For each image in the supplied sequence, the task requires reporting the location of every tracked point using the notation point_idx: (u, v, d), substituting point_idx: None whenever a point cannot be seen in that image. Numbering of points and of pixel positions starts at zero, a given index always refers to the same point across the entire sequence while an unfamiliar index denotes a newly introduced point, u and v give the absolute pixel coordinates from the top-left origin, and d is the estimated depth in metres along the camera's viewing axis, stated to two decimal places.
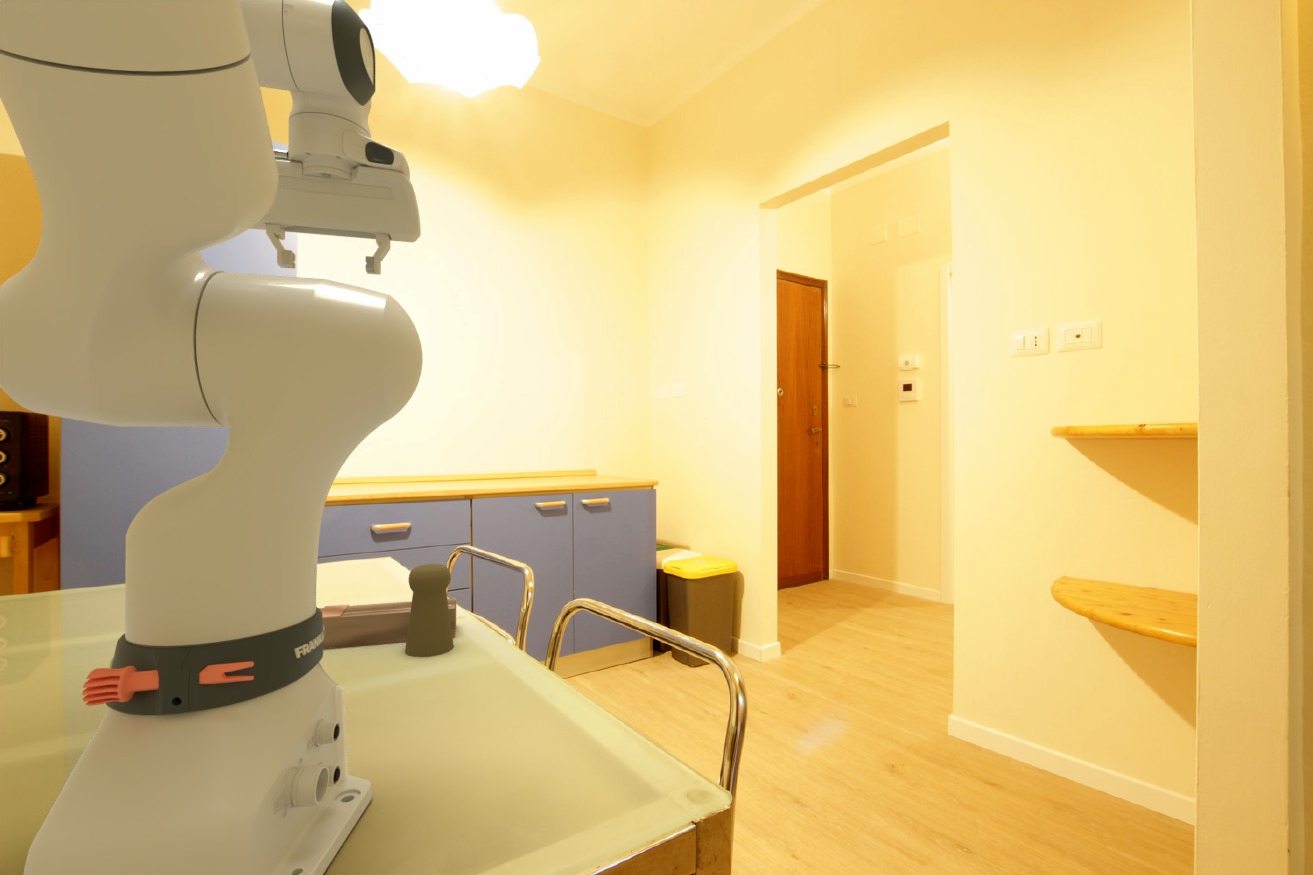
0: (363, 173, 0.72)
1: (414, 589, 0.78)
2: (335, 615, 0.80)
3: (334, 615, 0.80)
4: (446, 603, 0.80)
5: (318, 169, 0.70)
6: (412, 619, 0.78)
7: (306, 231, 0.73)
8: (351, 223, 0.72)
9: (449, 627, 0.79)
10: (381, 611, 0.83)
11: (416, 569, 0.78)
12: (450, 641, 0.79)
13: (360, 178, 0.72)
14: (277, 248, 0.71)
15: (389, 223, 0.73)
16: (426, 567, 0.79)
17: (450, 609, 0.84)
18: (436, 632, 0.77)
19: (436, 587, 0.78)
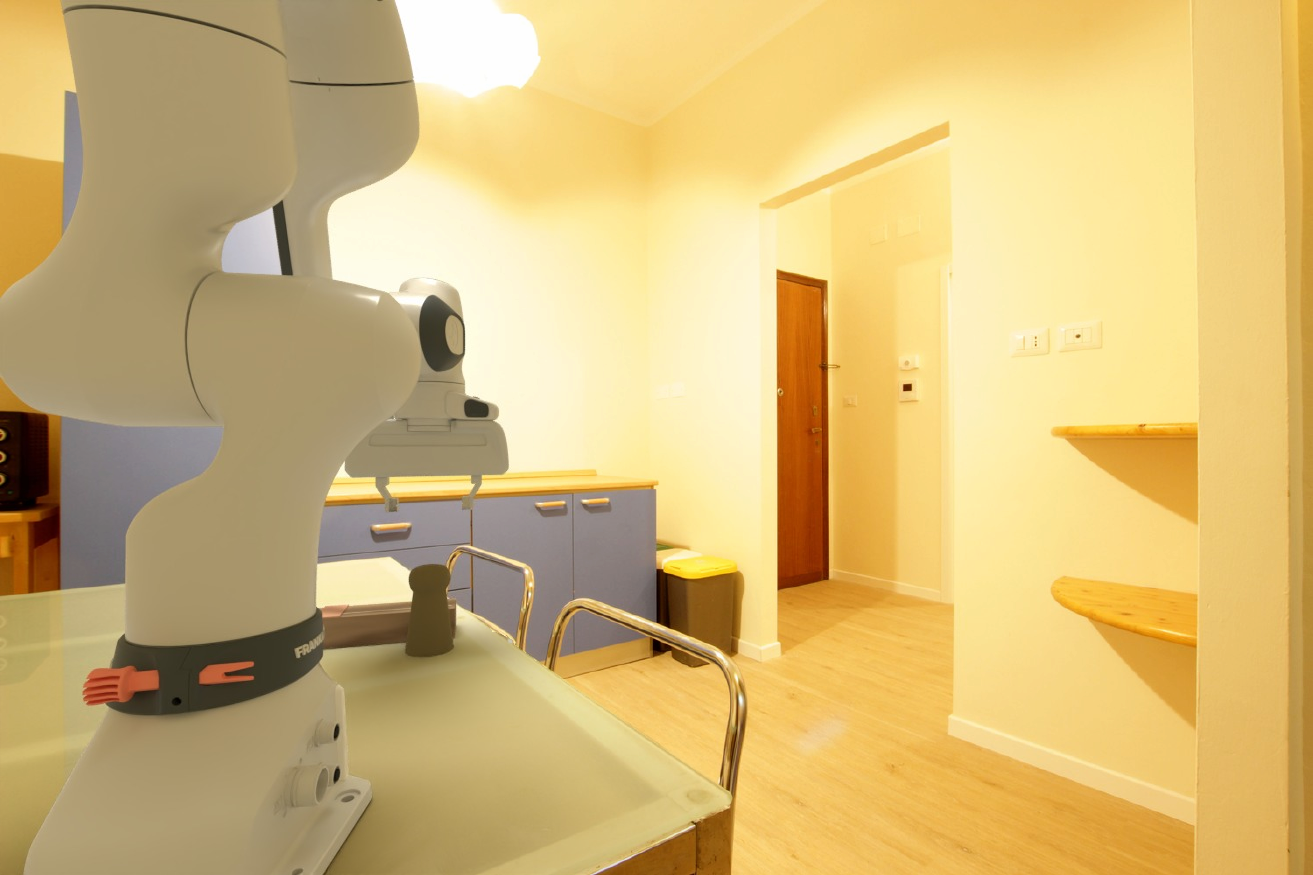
0: (461, 427, 0.78)
1: (414, 589, 0.78)
2: (335, 615, 0.80)
3: (334, 615, 0.80)
4: (446, 603, 0.80)
5: (423, 428, 0.77)
6: (412, 619, 0.78)
7: None
8: (450, 470, 0.79)
9: (449, 627, 0.79)
10: (381, 611, 0.83)
11: (416, 569, 0.78)
12: (450, 641, 0.79)
13: (458, 430, 0.79)
14: (385, 498, 0.78)
15: (483, 467, 0.80)
16: (426, 567, 0.79)
17: (450, 609, 0.84)
18: (436, 632, 0.77)
19: (436, 587, 0.78)
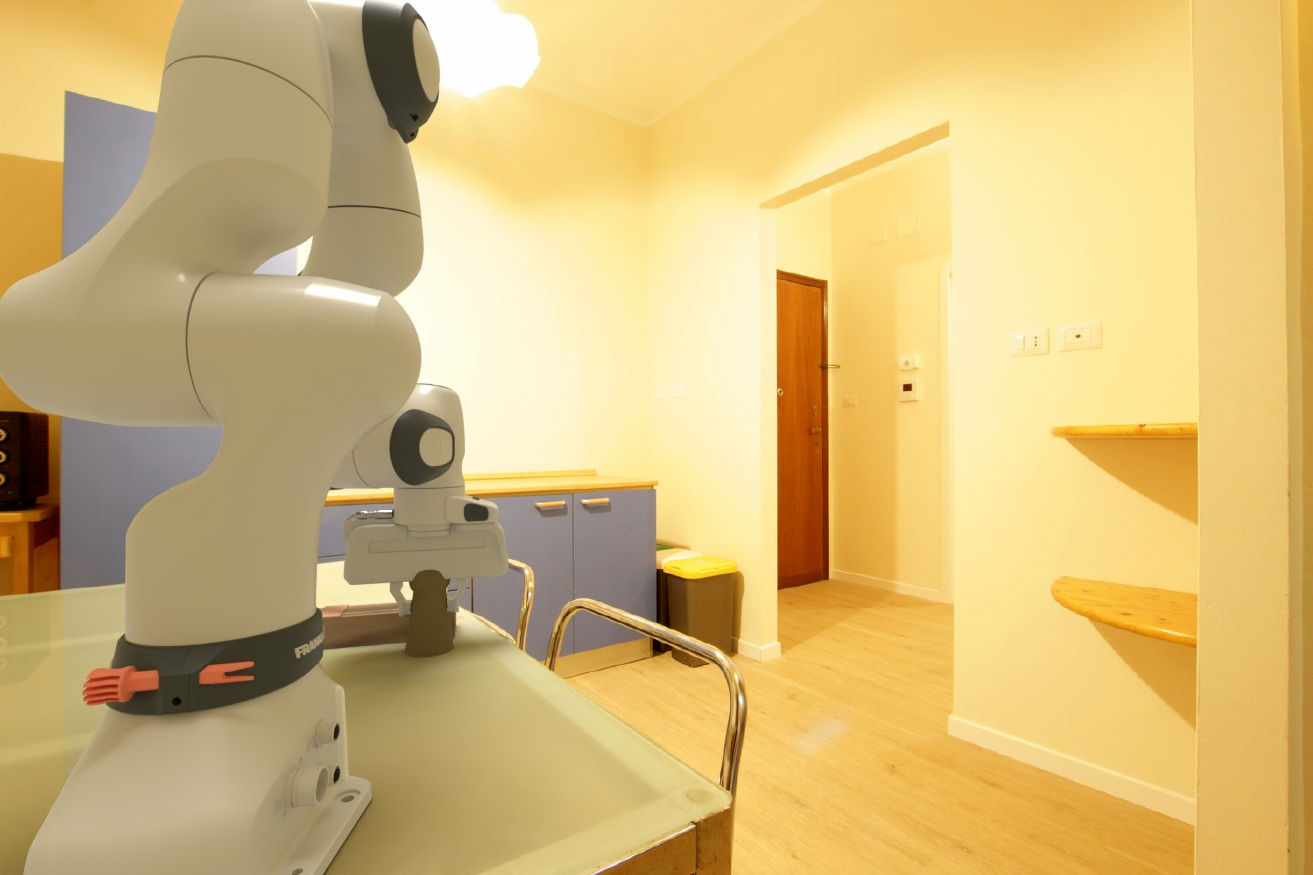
0: (461, 531, 0.78)
1: (414, 589, 0.78)
2: (335, 615, 0.80)
3: (334, 615, 0.80)
4: (446, 603, 0.80)
5: (422, 534, 0.77)
6: (412, 618, 0.78)
7: None
8: (449, 574, 0.79)
9: (449, 627, 0.79)
10: (381, 611, 0.83)
11: None
12: (450, 641, 0.79)
13: (458, 533, 0.79)
14: (399, 603, 0.78)
15: (483, 569, 0.80)
16: None
17: None
18: (436, 632, 0.77)
19: (436, 587, 0.78)
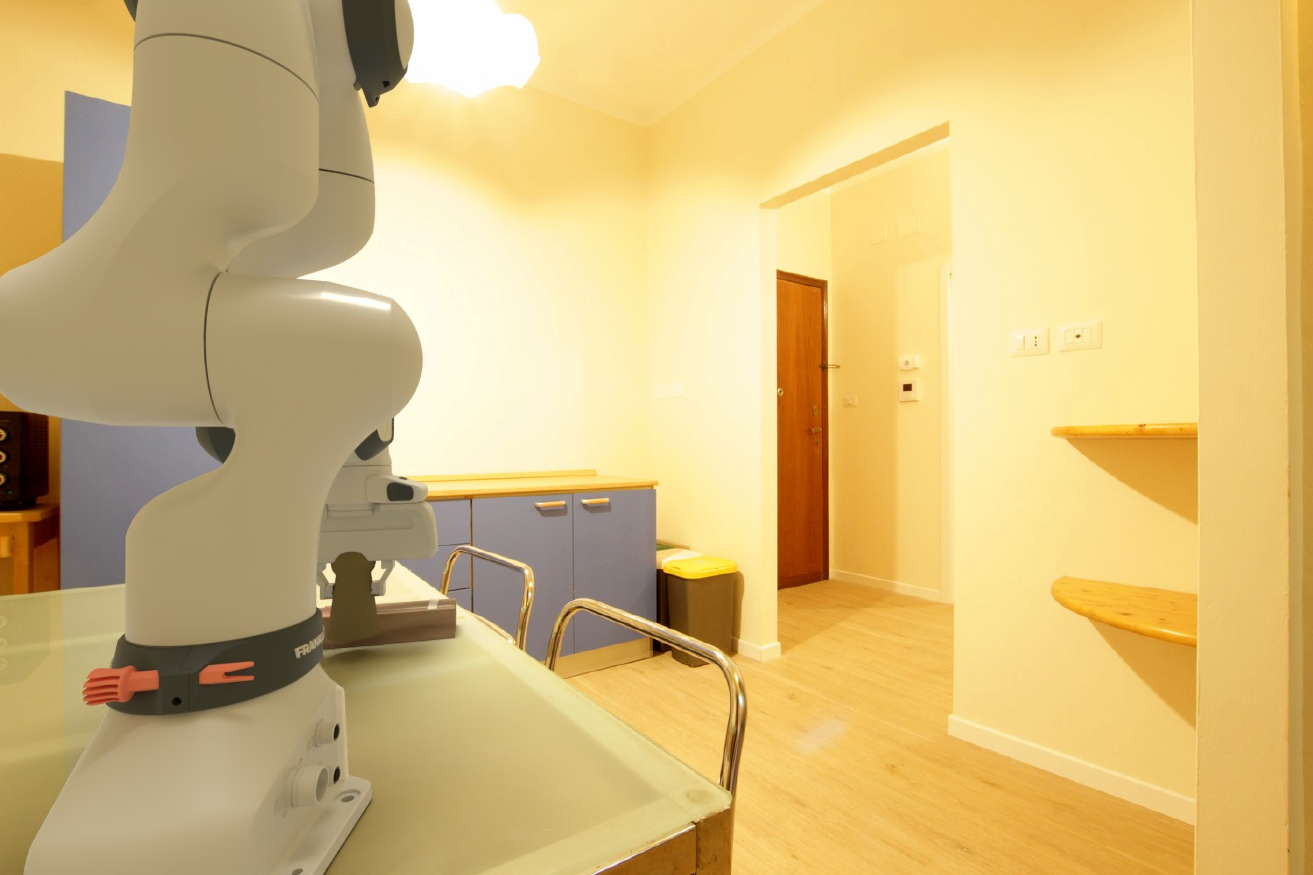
0: (384, 511, 0.76)
1: (335, 571, 0.75)
2: None
3: None
4: (370, 586, 0.77)
5: (342, 514, 0.74)
6: (333, 602, 0.75)
7: None
8: (373, 556, 0.76)
9: (374, 611, 0.77)
10: (381, 611, 0.83)
11: None
12: (374, 626, 0.77)
13: (382, 513, 0.76)
14: (320, 585, 0.75)
15: (409, 551, 0.77)
16: None
17: (450, 609, 0.84)
18: (358, 616, 0.75)
19: (358, 570, 0.75)
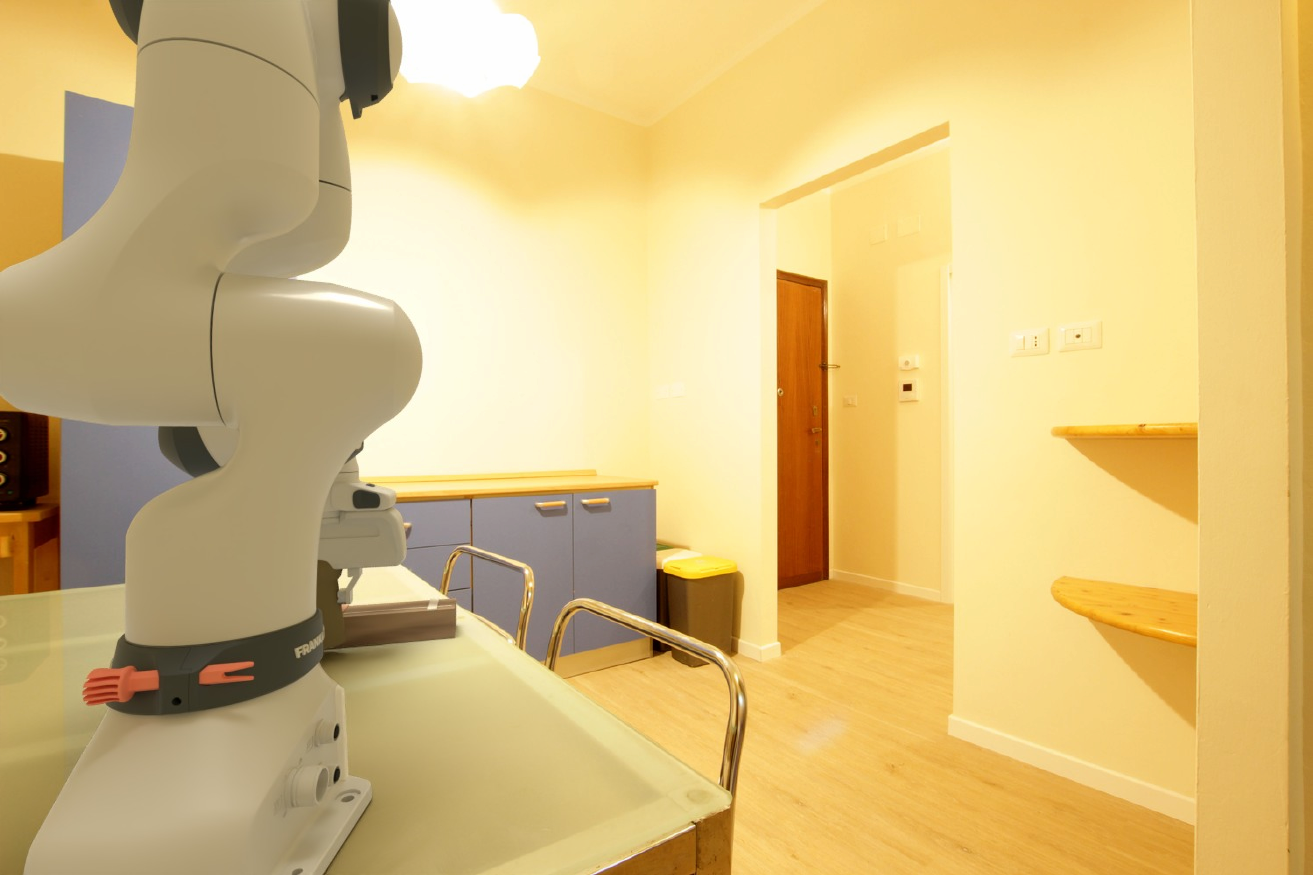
0: (350, 518, 0.75)
1: None
2: None
3: None
4: None
5: None
6: None
7: None
8: (339, 564, 0.75)
9: (340, 620, 0.76)
10: (381, 611, 0.83)
11: None
12: (340, 634, 0.76)
13: (348, 521, 0.75)
14: None
15: (376, 559, 0.76)
16: None
17: (450, 609, 0.84)
18: (323, 624, 0.74)
19: (323, 578, 0.74)
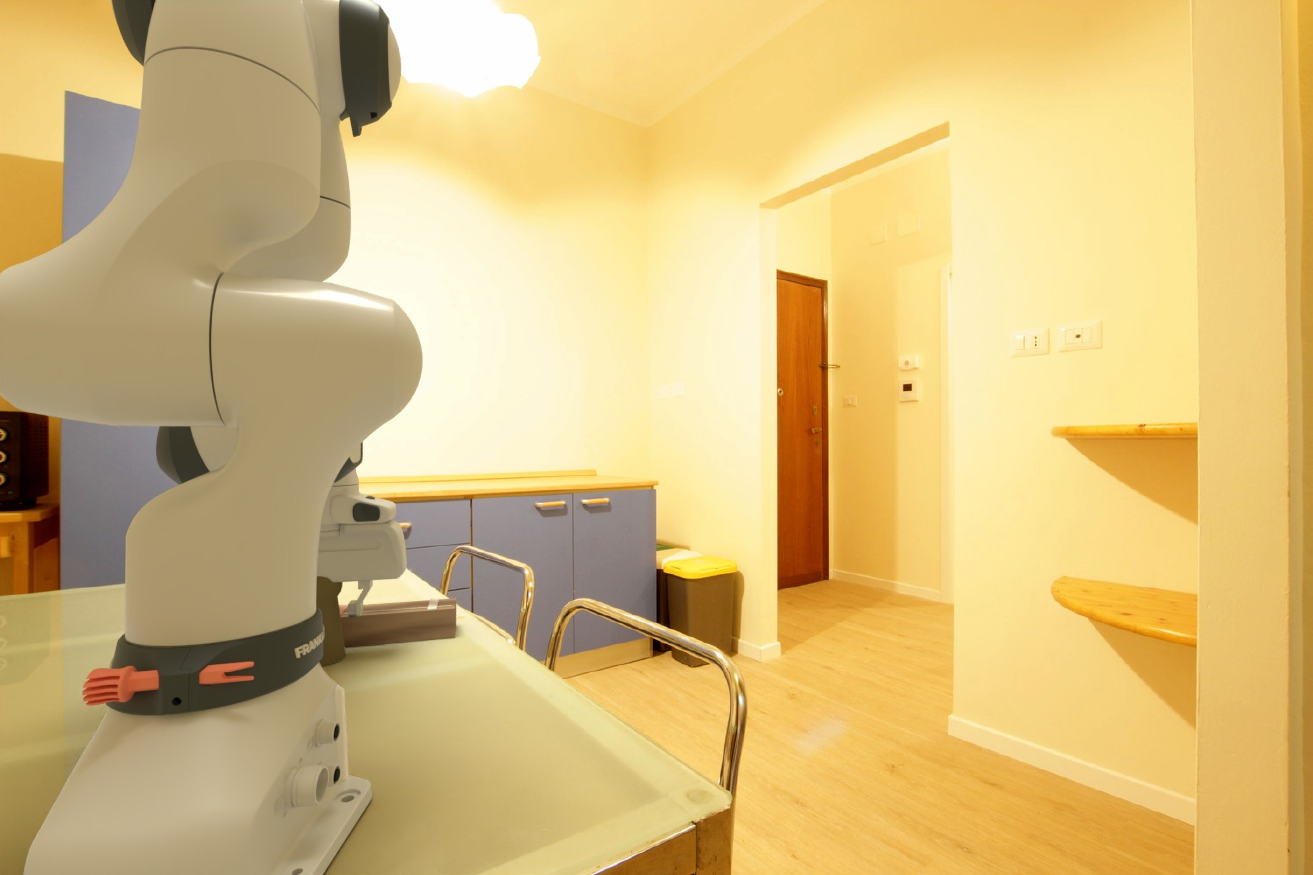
0: (350, 531, 0.75)
1: None
2: None
3: None
4: (336, 611, 0.76)
5: None
6: None
7: None
8: (339, 577, 0.75)
9: (339, 636, 0.76)
10: (381, 611, 0.83)
11: None
12: (340, 651, 0.75)
13: (348, 534, 0.75)
14: None
15: (376, 572, 0.76)
16: None
17: (450, 609, 0.84)
18: None
19: (323, 595, 0.74)
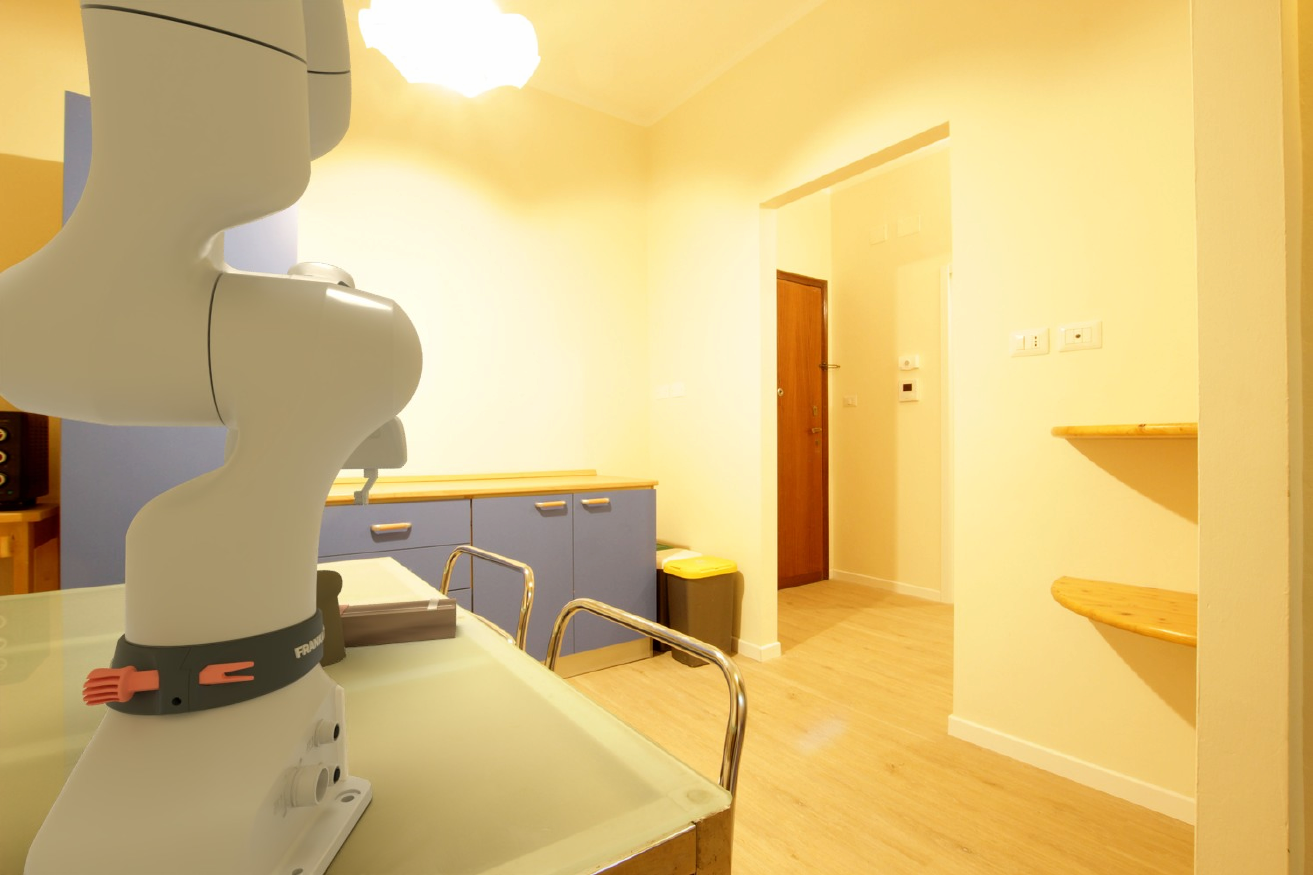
0: None
1: None
2: None
3: None
4: (336, 611, 0.76)
5: None
6: None
7: None
8: None
9: (339, 636, 0.76)
10: (381, 611, 0.83)
11: None
12: (340, 651, 0.75)
13: None
14: None
15: (376, 460, 0.77)
16: None
17: (450, 609, 0.84)
18: None
19: (323, 595, 0.74)
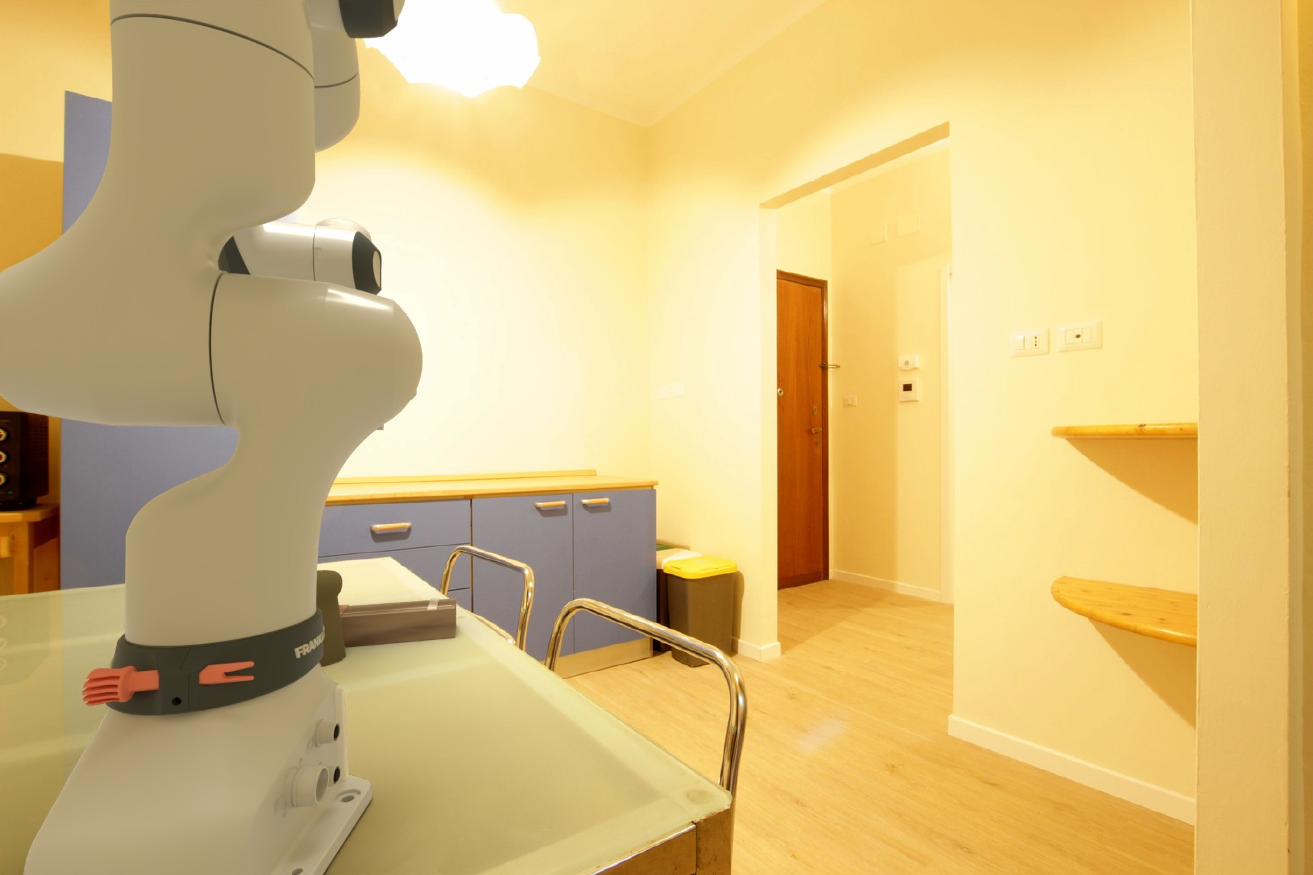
0: None
1: None
2: None
3: None
4: (336, 611, 0.76)
5: None
6: None
7: None
8: None
9: (339, 636, 0.76)
10: (381, 611, 0.83)
11: None
12: (340, 651, 0.75)
13: None
14: None
15: None
16: None
17: (450, 609, 0.84)
18: None
19: (323, 595, 0.74)
